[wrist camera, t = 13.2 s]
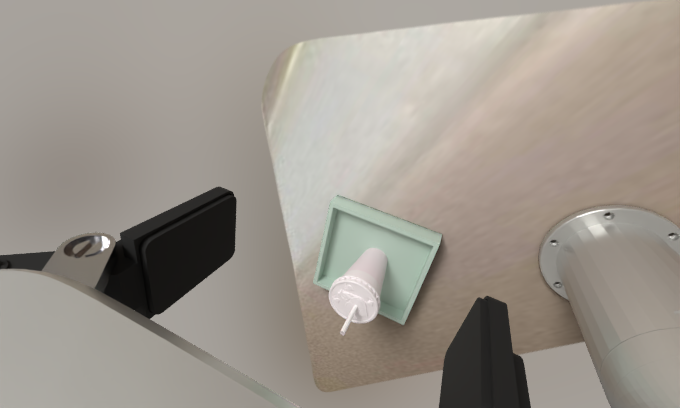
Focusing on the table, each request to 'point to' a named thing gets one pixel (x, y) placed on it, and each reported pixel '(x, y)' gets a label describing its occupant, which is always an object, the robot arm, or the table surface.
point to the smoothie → (360, 289)
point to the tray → (382, 233)
